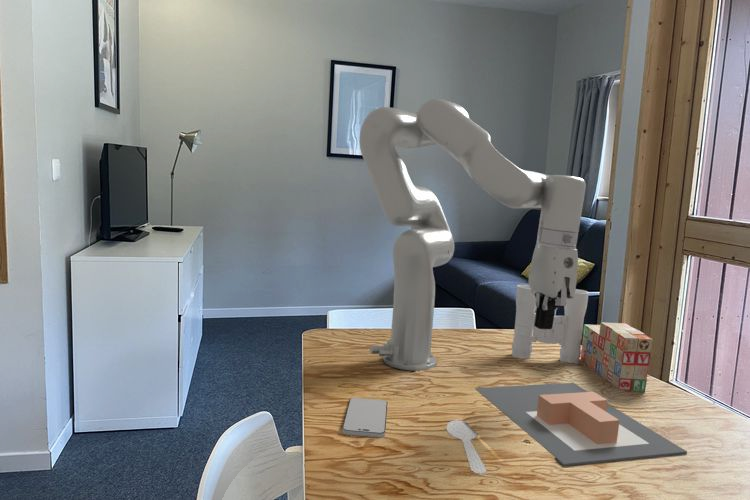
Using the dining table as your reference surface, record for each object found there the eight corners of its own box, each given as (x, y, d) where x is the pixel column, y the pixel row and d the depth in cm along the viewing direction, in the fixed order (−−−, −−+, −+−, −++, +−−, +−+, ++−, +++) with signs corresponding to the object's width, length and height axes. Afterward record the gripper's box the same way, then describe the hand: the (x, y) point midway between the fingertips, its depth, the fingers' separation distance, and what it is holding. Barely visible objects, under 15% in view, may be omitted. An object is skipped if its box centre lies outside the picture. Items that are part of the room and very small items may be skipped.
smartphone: (387, 400, 107) (385, 433, 92) (387, 406, 107) (384, 440, 92) (350, 397, 107) (341, 429, 92) (349, 402, 107) (341, 436, 92)
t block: (576, 446, 92) (579, 423, 92) (536, 415, 103) (538, 395, 103) (636, 440, 96) (638, 418, 95) (590, 411, 107) (593, 391, 106)
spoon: (462, 475, 82) (462, 472, 82) (442, 421, 100) (443, 419, 100) (498, 476, 82) (498, 473, 82) (472, 422, 100) (472, 420, 100)
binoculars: (510, 358, 138) (517, 287, 136) (509, 351, 144) (516, 283, 141) (582, 366, 135) (590, 294, 133) (578, 359, 141) (586, 290, 138)
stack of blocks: (579, 359, 141) (584, 312, 140) (603, 360, 141) (609, 313, 140) (617, 391, 120) (624, 336, 118) (646, 392, 120) (653, 338, 119)
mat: (563, 466, 86) (563, 463, 86) (474, 389, 115) (474, 388, 115) (686, 453, 93) (687, 451, 93) (572, 384, 122) (573, 382, 122)
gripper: (597, 246, 103) (581, 340, 106) (551, 233, 117) (538, 317, 120) (563, 243, 101) (547, 340, 104) (520, 231, 115) (508, 316, 118)
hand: (543, 327), depth 112 cm, fingers closed
